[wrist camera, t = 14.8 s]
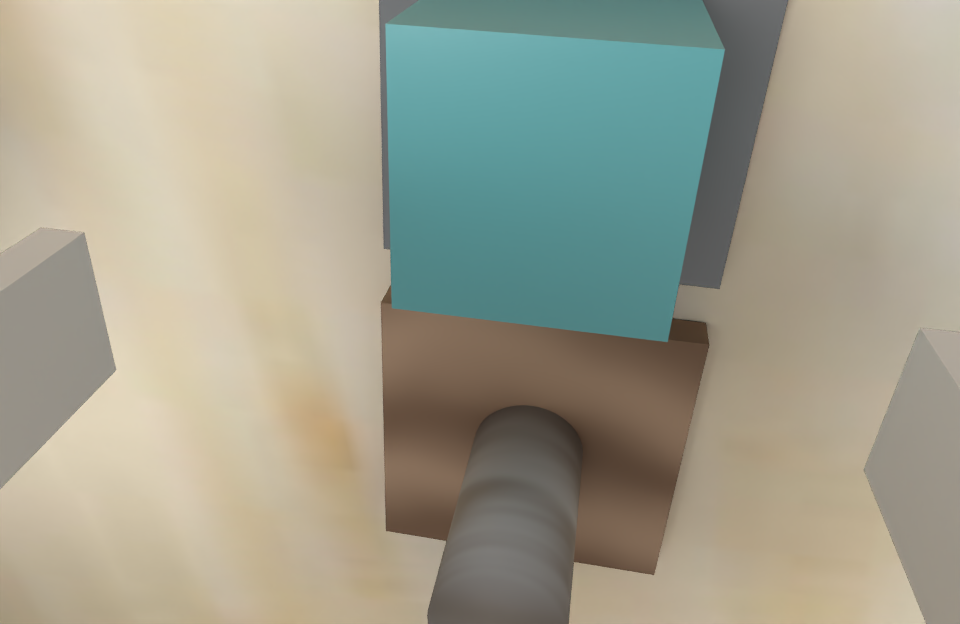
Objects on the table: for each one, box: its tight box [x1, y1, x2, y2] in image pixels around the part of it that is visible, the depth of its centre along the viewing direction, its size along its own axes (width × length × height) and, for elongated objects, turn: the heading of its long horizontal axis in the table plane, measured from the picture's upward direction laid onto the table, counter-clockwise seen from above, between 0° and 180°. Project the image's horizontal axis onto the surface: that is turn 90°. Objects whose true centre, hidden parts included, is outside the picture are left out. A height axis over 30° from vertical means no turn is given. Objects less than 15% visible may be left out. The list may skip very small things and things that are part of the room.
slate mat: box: [379, 0, 788, 289], centre depth 25 cm, size 12×12×1 cm
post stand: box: [381, 286, 709, 624], centre depth 28 cm, size 12×12×10 cm
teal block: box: [385, 0, 725, 342], centre depth 21 cm, size 7×7×8 cm
